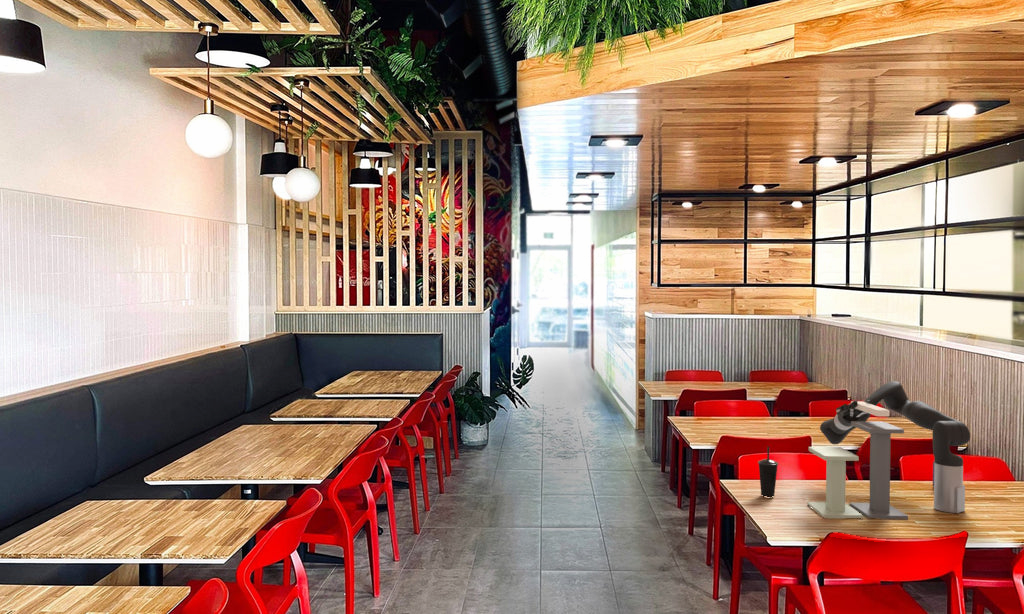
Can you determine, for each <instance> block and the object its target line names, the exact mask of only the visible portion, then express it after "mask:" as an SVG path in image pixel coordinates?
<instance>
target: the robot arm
mask: <svg viewBox="0 0 1024 614" xmlns="http://www.w3.org/2000/svg"><path fill="white" fill-rule="evenodd" d="M853 401H854V402H852V403H851V402H850V403H848V404H847V403H844V404H842V405H841V406H838V407H837V408H835V411H836V415H835V416H834V417H833V418H831V419H827V420H824V421H823V422H822V423H821V424H820V426H819V429H820V431H821V433H822V434H823V435H824V437H825V438H826V439H827V441H828V442H829V443H830V444H831V445H839V444H841V443H842V442H843V440H845V438H846V437H847V436H848V435H849V434H850V433H851V432H852V431H853V430H855V429H856V428H857V427H854V426H852V425H851V421H868V419H869V418H870V417H871V415H872V414H869V413H867V412H864V411H861V410H858V409H855V408H856V407H857V406H858V403H857V401H858V400H853ZM881 401H883V403H884V404H885V406H886V408H888V410H891V411H893V412H896V413H898V414H900V415H902V416H903V417H905V418H906V419H908V420H909V421H911V422H912V423H913V424H915V425H916V426H918V427H920V428H922V429H927V430H929V431H932V433H931V434H932V435H931V436H932V453H933V458H934V459H935V469H934V486H933V508H934V509H935V510H937V511H940V512H945V513H953V514H959V513H962V512H965V511H966V507H965V506H966V485H965V484H964V458H963V457H962V456H960V455H957V454H954V453H953V452H951V450H950V449H951V448H950V447H961V446H965V445H967V444H968V443H969V441H970V439H971V432H970V429H969V428H968V426H967V425H966V424H965V423H964V422H962V421H960V420H958V419H956V418H954V417H951V416H948V415H946V414H945V413H943V412H941V411H939V410H938V409H936V408H934V407H933V406H931V405H930V404H928V403H927V402H924V401H922V400H914V401H913V400H912V401H911V400H910V399H909V397H908V396H907V393H906V391H905V390H904V387H903V385H902V383H901V382H899V381H896V380H894V381H893V380H892V381H889V382H885V383H884V384H882V385H881V386H880V387H879V388H877V389H876V390H875V391H873V392H872V393H871V394H870V395H869V396H868V397H867V398H866V399H864V400H863V402H866V403H869V404H872V405H875V406H877V405H878V404H879V403H880V402H881Z"/></svg>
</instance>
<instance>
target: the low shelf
mask: <svg viewBox="0 0 1024 614" xmlns="http://www.w3.org/2000/svg"><path fill="white" fill-rule="evenodd" d="M808 451H809V452H810V453H811V454H814V455H815V456H817V457H819V458H820V459H822V460H823V461H826V473H825V474H826V475H825V477H826V478H825V481H826V483H825V485H826V486H825V488H826V490H825V493H826V494H825V502H821V501H820V502H819V501H815V502H814V501H807V504H808V505H809V506H810V507H812V508H813V509H814V510H815V511H816V512H818V513H819V514H820V515H821V516H820V515H819V514H818V513H817V514H818V515H819V516H820V517H822V516H823V517H827V518H826V519H845V518H861V519H862V518H863V519H864V515H862V514H861V513H859V512H858V511H857V510H855V509H854V508H852V507H851V506H850V504H847V503H846V487H847V485H846V483H847V482H846V481H847V479H846V477H847V476H846V475H847V474H846V473H847V471H846V470H847V469H846V468H847V464H846V463H847V462H846V461H848V462H850V461H851V462H853V461H854V462H857V461H858V462H859V461H860V460H859V456H858V455H857V454H854V453H853V452H851V451H848V450H847V449H845V448H843V447H841V446H840V447H839V446H808ZM808 505H807V506H808ZM809 506H808V507H809ZM810 507H809V508H810ZM813 509H812V510H813ZM814 510H813V511H814ZM815 511H814V512H815ZM816 512H815V513H816ZM823 517H822V518H823Z"/></svg>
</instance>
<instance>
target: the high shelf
mask: <svg viewBox="0 0 1024 614" xmlns="http://www.w3.org/2000/svg"><path fill="white" fill-rule="evenodd" d="M851 425H852V426H854V427H856V428H857V429H859V430H861V431H864V432H867V433H868V434H869V436H870V437H869V439H870V440H869V445H870V448H869V450H870V451H869V502H849V506H850V507H852V508H853V509H855V510H856V511H857V512H860V514H863V517H865V516H866V517H865V518H867V519H868V518H879V519H878V520H909V515H908V514H905V513H904V512H903V511H901V510H899V509H898V508H896V507H894V506H893V505H891V504H890V503H891V502H890V501H891V499H890V498H891V440H892V439H891V435H892V434H899V435H900V434H901V435H902V434H905V429H904V428H901V427H899V426H896V425H893V424H891V423H888V422H886V421H875V420H874V421H872V420H871V421H870V420H869V421H868V420H867V421H851Z"/></svg>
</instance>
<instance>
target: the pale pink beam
mask: <svg viewBox="0 0 1024 614" xmlns="http://www.w3.org/2000/svg"><path fill="white" fill-rule="evenodd" d="M854 401H855V400H853V401H851V402H850V403H852V402H854ZM863 401H864V400H863ZM863 401H860V400H857V403H858V406H857V407H856V408H855V409H858V410H861V411H864V412H867V413H869V414H871V415H872V416H875V417H890V409H887V408H883V407H880V406H877V405H876V406H875V405H872V404H869V403H866V402H863Z"/></svg>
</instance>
